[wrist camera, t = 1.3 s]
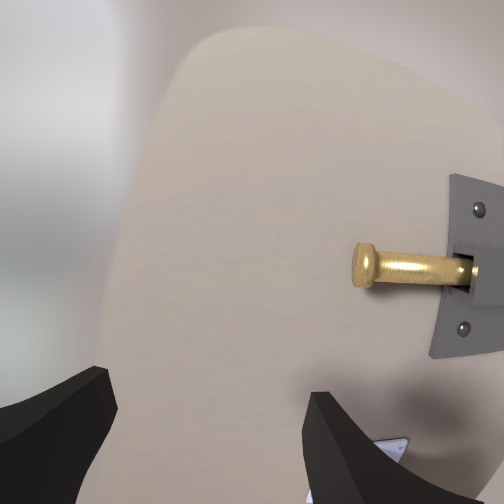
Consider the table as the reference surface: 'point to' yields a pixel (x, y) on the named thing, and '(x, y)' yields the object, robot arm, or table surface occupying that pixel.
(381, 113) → the table surface
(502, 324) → the hinge
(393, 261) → the pin
